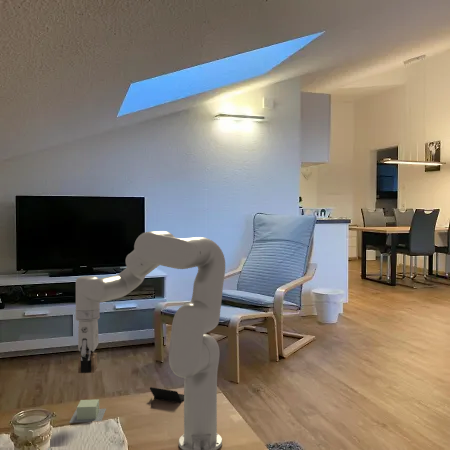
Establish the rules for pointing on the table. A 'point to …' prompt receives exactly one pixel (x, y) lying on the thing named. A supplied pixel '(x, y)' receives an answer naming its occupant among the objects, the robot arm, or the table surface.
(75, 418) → the board
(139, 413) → the table surface
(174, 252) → the robot arm
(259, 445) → the table surface
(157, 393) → the handheld gaming console
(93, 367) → the walnut cube
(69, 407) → the table surface
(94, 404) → the sage base block
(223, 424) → the table surface
